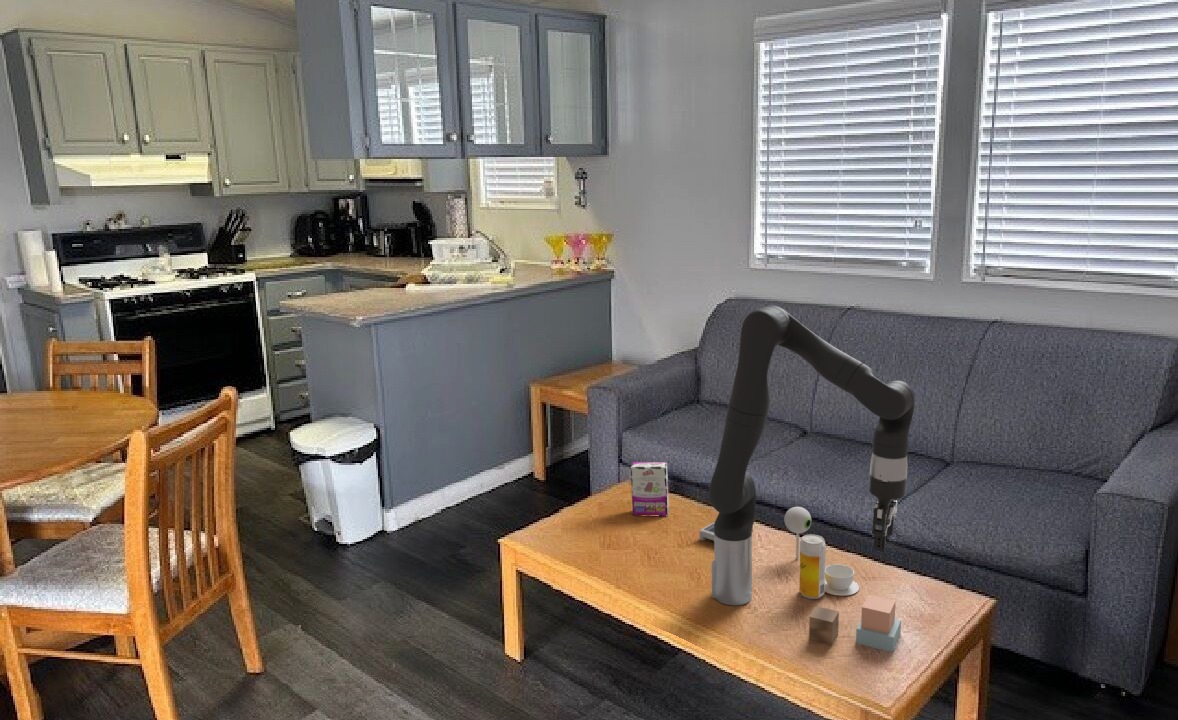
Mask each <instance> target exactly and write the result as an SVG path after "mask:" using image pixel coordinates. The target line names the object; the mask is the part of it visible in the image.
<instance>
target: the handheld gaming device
mask: <svg viewBox="0 0 1178 720" xmlns="http://www.w3.org/2000/svg"><path fill="white" fill-rule="evenodd" d="M714 523H715V521H714V522H712V523H710V524H708V525H706V526H705V527H703V528H701V529H699V540H700V541H703V542H705V541H706V539H707V540H711V541H714ZM753 527H754V526H753ZM753 527H752V532H753V531H754V528H753ZM704 540H705V541H704Z"/></svg>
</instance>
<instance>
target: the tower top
mask: <svg viewBox="0 0 1178 720" xmlns="http://www.w3.org/2000/svg"><path fill="white" fill-rule="evenodd" d="M896 603H897V601H896V600H893V599H888V598H884V597H879V596H874V595H869V594H868V595H867V597H866V598H865V600H864V602H863V604H862V606H861V618H860V621H861V627H863V628H867V629H871V630H875V631H879V632H883V633H887V634H889V632H890V630H891V628H892V626H893V624H894V622H895V619H896Z"/></svg>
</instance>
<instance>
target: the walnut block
mask: <svg viewBox="0 0 1178 720" xmlns="http://www.w3.org/2000/svg"><path fill="white" fill-rule="evenodd" d="M839 615H840V611H839V610H835V609H831V608H826V607H823V606H818V605H817V606H815V607H814V608H813V610H812V612H811V613H810V615H809V617H808V618H809V621H808V622H809V623H808V626H809V627H808V628H809V629H808V641H811V642H813V643H818V644H822V645H826V646H830V647H833V646H834V644H835V641H836V639H837V638H838V636H839V620H840V619H839V618H840V616H839Z"/></svg>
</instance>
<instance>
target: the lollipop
mask: <svg viewBox="0 0 1178 720" xmlns="http://www.w3.org/2000/svg"><path fill="white" fill-rule="evenodd" d="M783 519H784V525H785V526H786V528H787V529H788V530H789V531H790V532H792V533H794V534H796V536H795V537H796V544H795V545H796V546H795V549H796V550H795V559H796V560H800V534H803V533H806V532H807V531H809V529H810V528H811V526H812V516H811V513H810V512H809V511H808V510H807V509H806V508H804V507H803V506H794V507H790V508H789V509H788V510H787V511H786V512H785V515H784V518H783Z"/></svg>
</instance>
